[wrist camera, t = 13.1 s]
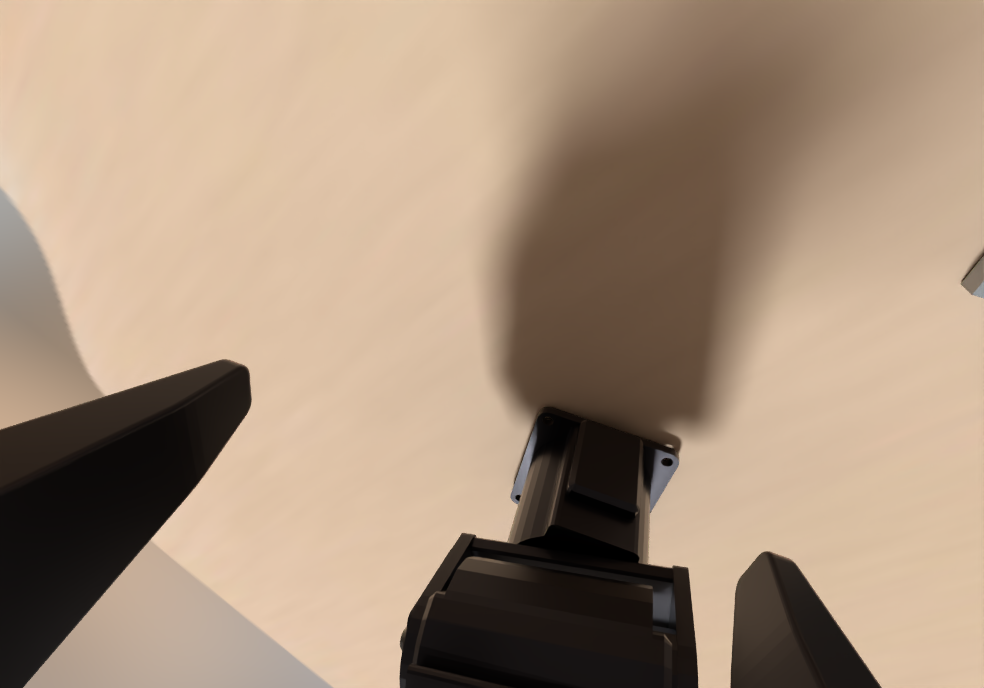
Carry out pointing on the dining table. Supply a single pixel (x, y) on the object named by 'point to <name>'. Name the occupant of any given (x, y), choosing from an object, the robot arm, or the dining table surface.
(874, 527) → the dining table surface
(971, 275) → the dish rack
